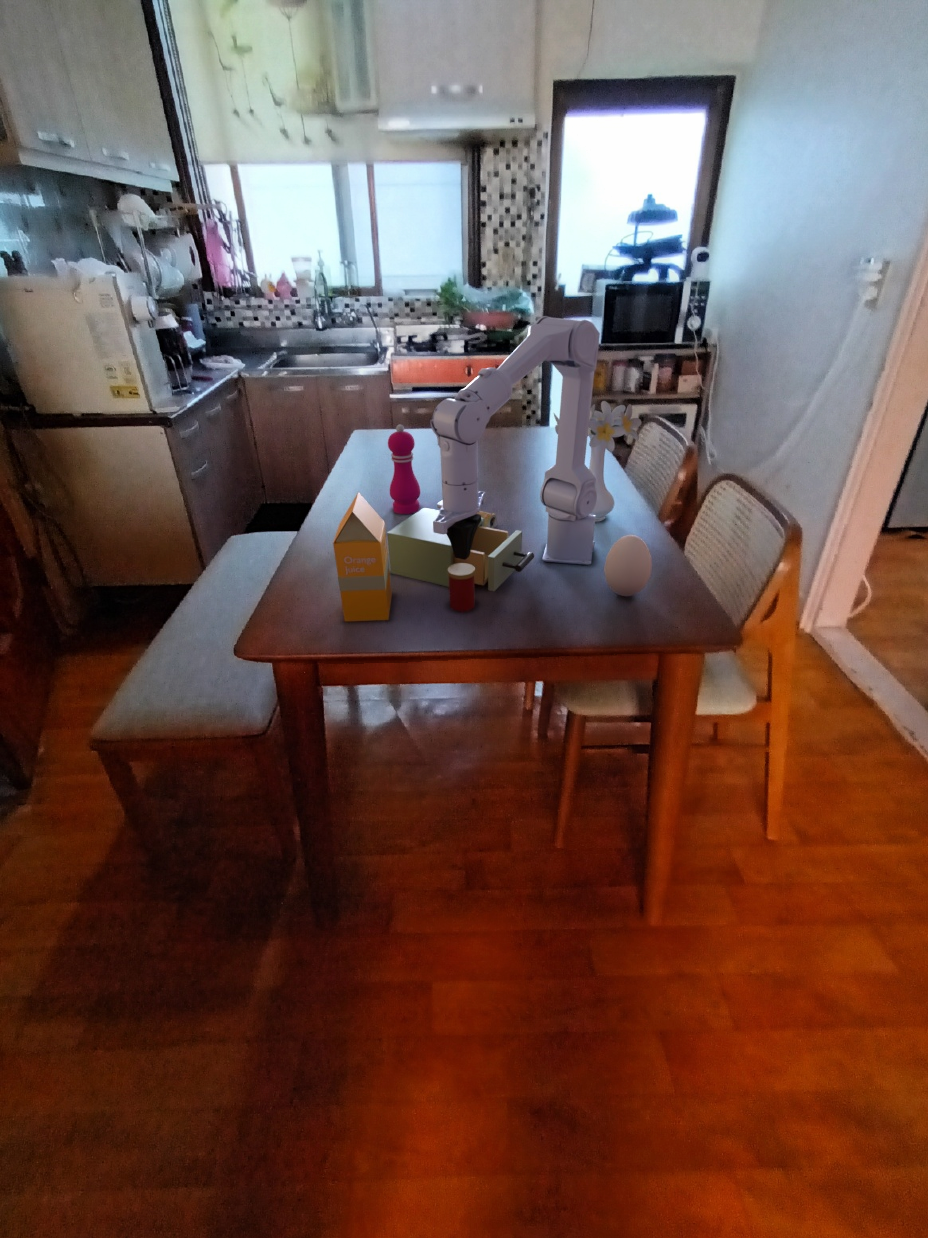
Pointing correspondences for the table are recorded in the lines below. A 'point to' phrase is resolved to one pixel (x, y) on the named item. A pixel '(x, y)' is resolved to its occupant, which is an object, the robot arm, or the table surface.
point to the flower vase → (606, 447)
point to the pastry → (489, 519)
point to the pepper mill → (403, 473)
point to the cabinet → (421, 549)
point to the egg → (628, 565)
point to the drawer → (495, 556)
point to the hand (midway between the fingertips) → (462, 557)
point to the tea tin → (461, 586)
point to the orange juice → (363, 563)
